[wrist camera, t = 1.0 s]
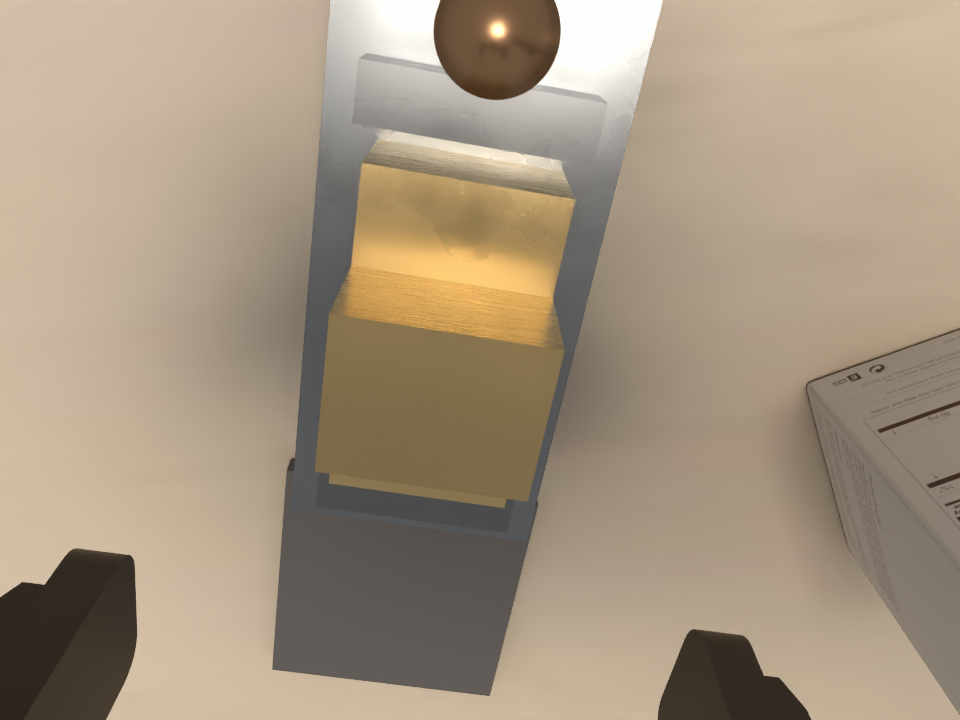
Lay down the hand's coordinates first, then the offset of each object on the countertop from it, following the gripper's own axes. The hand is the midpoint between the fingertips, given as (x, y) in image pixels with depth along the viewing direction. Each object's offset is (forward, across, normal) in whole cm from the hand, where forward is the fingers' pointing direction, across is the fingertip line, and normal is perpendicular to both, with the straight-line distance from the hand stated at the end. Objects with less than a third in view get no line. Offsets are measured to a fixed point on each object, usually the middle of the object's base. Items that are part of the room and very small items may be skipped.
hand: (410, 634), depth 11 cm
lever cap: (+12, 0, 0) cm, 13 cm away
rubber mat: (+17, 0, +15) cm, 23 cm away
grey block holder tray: (+18, 0, 0) cm, 18 cm away
